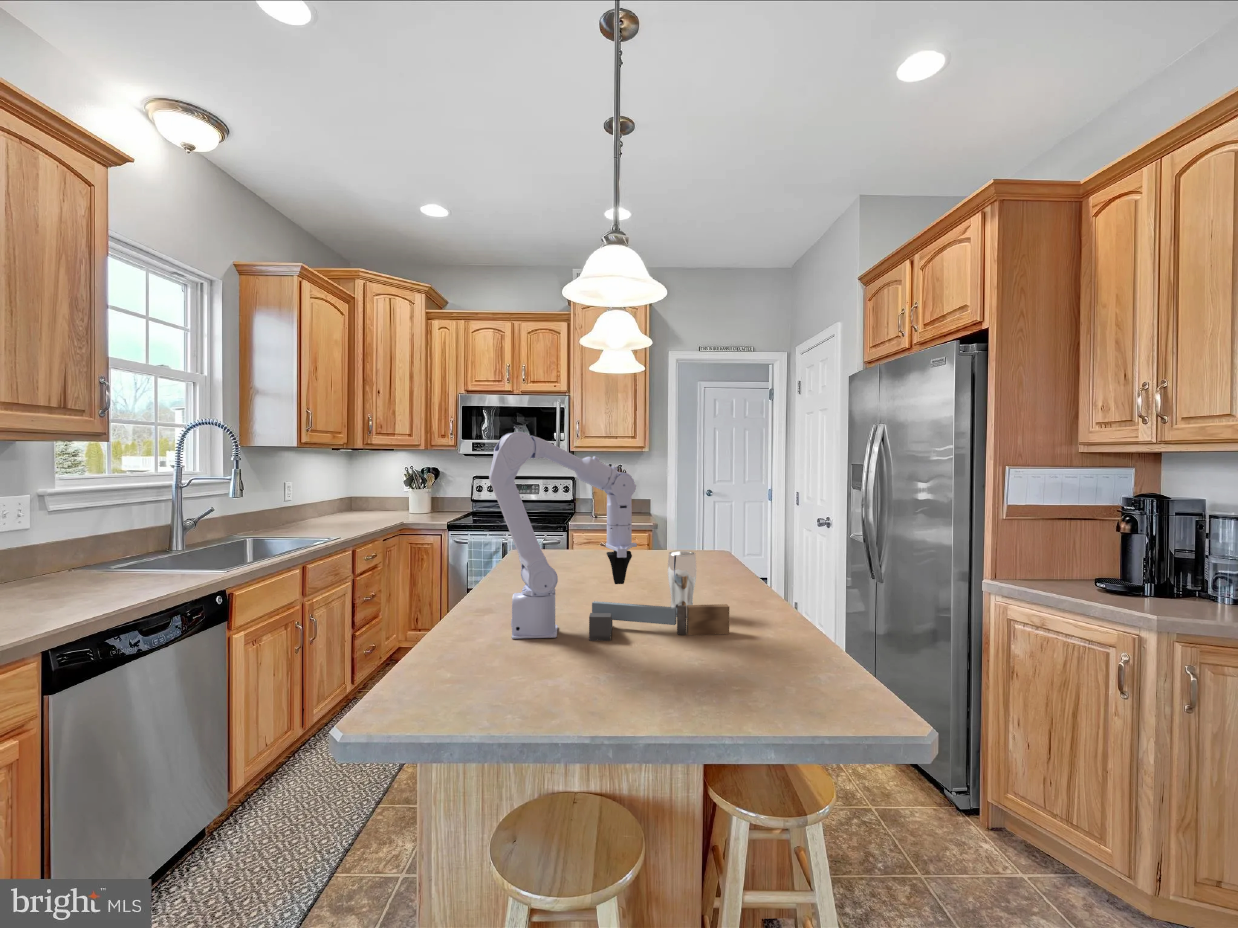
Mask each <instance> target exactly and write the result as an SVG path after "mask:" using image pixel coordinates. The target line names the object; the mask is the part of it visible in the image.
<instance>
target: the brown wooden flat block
mask: <svg viewBox="0 0 1238 928" xmlns="http://www.w3.org/2000/svg"><path fill="white" fill-rule="evenodd" d="M676 634H677V636H686V635H688V636H702V635H703V636H706V635H707V636H708V635H711V636H712V635H730V606H729V605H728V604H727V603H725V604H724V603H721V604H693V605H687V618H686V606H684V605H678V606H677V617H676Z"/></svg>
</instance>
